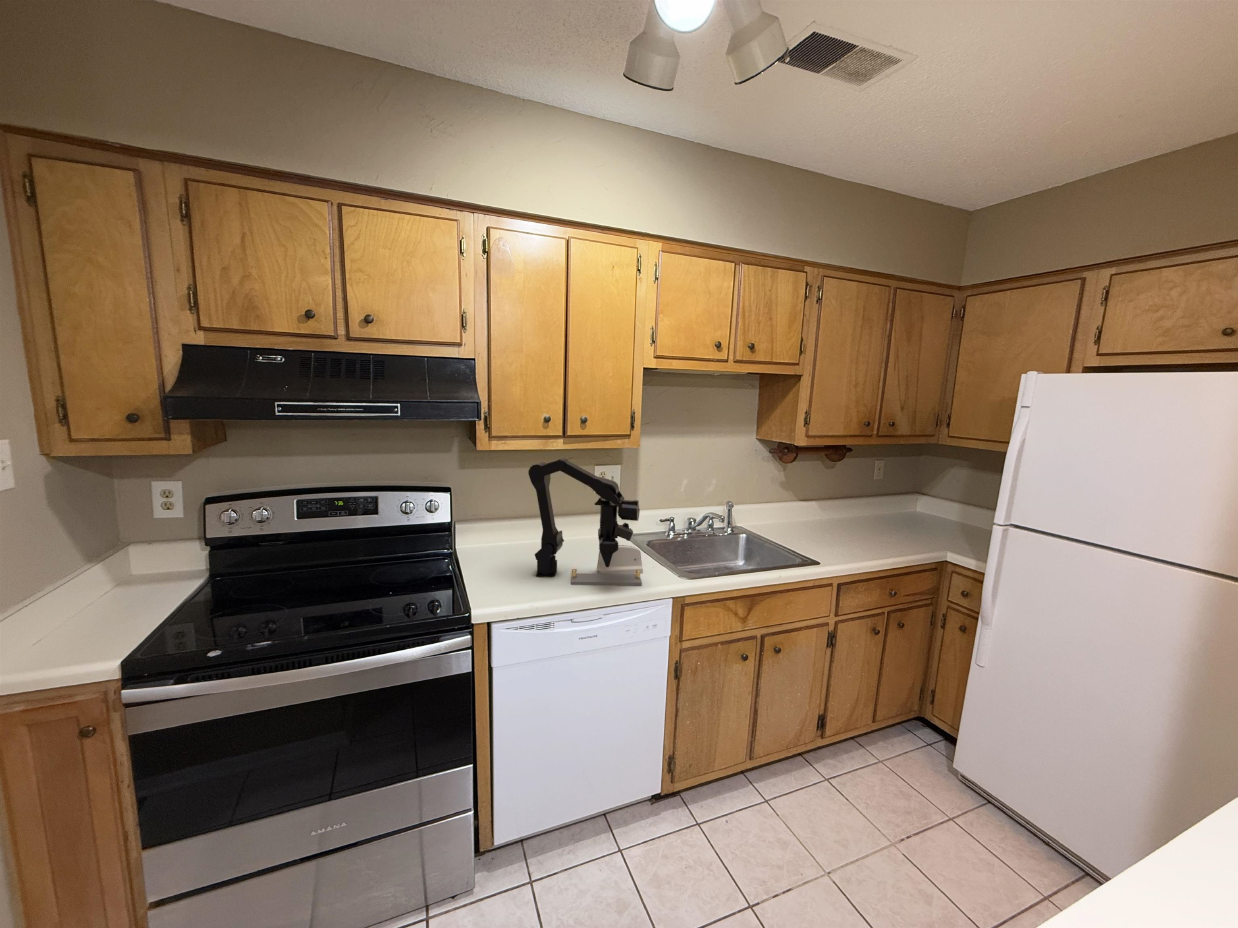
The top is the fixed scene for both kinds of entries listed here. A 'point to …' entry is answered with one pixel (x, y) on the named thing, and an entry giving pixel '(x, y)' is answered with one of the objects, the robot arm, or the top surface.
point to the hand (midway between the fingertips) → (606, 562)
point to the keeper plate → (606, 579)
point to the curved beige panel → (622, 561)
